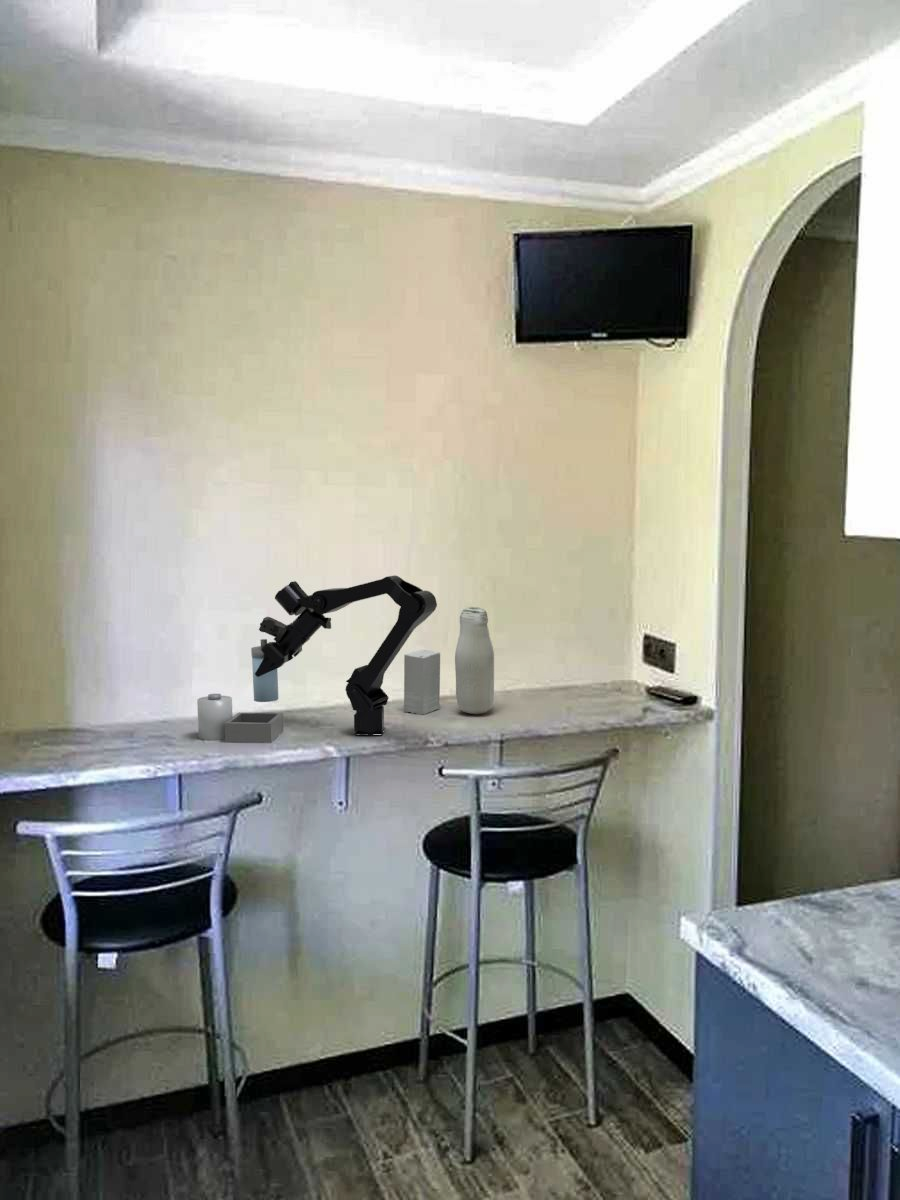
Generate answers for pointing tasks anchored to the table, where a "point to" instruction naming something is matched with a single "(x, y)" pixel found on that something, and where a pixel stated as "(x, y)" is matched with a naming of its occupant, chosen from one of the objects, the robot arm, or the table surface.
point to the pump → (263, 678)
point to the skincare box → (421, 681)
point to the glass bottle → (474, 663)
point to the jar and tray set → (235, 722)
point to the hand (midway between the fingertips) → (259, 673)
